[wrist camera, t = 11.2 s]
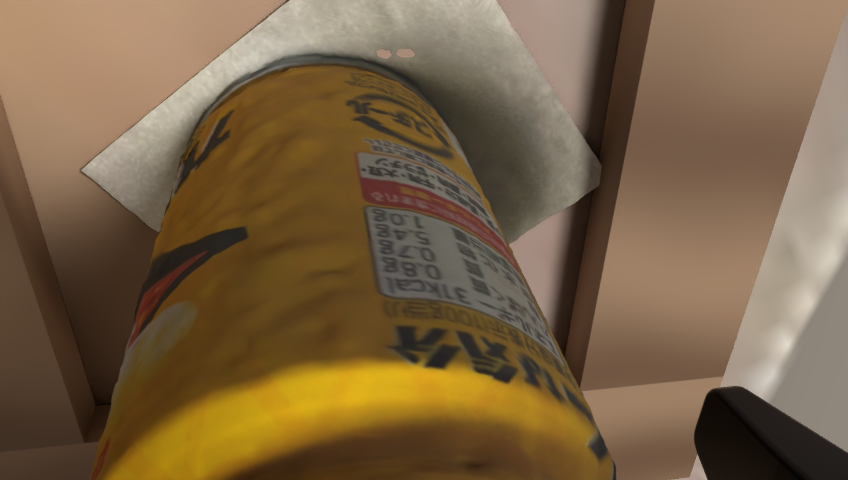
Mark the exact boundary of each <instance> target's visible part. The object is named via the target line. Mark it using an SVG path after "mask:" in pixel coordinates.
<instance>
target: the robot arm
mask: <svg viewBox="0 0 848 480" xmlns="http://www.w3.org/2000/svg"><path fill="white" fill-rule="evenodd" d="M694 444H695V448H696V451H697V454H698V456H699V459H700V462H701V464H702V467H703V469H704V472H705V474H706V477H707V480H848V453H847V452H846V451H844V450H843V449H841V448H839V447H838V446H836V445H835V444H833V443H831V442H830V441H828V440H827V439H825V438H823V437H822V436H820V435H819V434H817V433H815V432H814V431H812V430H811V429H809V428H808V427H806V426H804V425H803V424H801V423H800V422H798V421H796V420H795V419H793V418H792V417H790V416H788V415H787V414H785V413H783V412H782V411H780V410H779V409H777V408H776V407H774V406H772V405H771V404H769V403H768V402H766V401H764V400H763V399H761V398H760V397H758V396H756V395H755V394H753V393H752V392H750V391H749V390H747V389H745V388H743V387H739V386H730V387H721V388H714V389H711V390H710V391H709V392H708V393H707V394H706V396H705V399H704V402H703V405H702V409H701V412H700V415H699V418H698V421H697V424H696V427H695V431H694Z"/></svg>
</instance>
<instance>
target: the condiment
mask: <svg viewBox="0 0 848 480" xmlns="http://www.w3.org/2000/svg"><path fill="white" fill-rule="evenodd" d="M379 49H384V50H390V52H391V54H392V56H390V57H389V58H388V59H383V58H380V57H378V56H377V53H376V51H377V50H379ZM398 49H412V50H413V52H414V53H415V56H414V57H410V58H402V57H399V56H397V55H396V52H397V50H398ZM601 168H602V165H601V164H600V162H599V160H598V159H597V157H596V156H595V155H594V153H593V152H592V150H591V148H590V147H589V145H588V144H587V142H586V141H585V139H584V138H583V136H582V134H581V133H580V131H579V130H578V128H577V127H576V125H575V124H574V122H573V120H572V119H571V117H570V116H569V114H568V113H567V111H566V109H565V108H564V106H563V105H562V104H561V102H560V101H559V99H558V97H557V95H556V94H555V92H554V90H553V89H552V87H551V86H550V85H549V83H548V82H547V80H546V78H545V77H544V76H543V74H542V73H541V71H540V69H539V67H538V66H537V64H536V63H535V61H534V60H533V58H532V56H531V55H530V53H529V52H528V50H527V49H526V47H525V45H524V44H523V42H522V41H521V39H520V38H519V36H518V34H517V33H516V32H515V30H514V29H512V28H511V26H510V22H509V20H508V19H507V17H506V16H505V14H504V13H503V11H502V9H501V8H500V6H499V4H498V3H497V1H496V0H289V1H288V2H287V3H285V4H284V5H282V6H281V7H280V8H279V9H277V10H276V11H275V12H274V13H273V14H271V15H270V16H269V17H268V18H267V19H265V20H264V21H263V22H261V23H260V24H259V25H257V26H256V27H255V28H254V29H253V30H251V31H250V32H249V33H247V34H246V35H245V36H243V37H242V38H241V39H240V40H238V41H237V42H236V43H235V44H233V45H232V46H231V47H230V48H228V49H227V50H226V51H225V52H223V53H222V54H221V55H220V56H219V57H217V58H216V59H215V60H214V61H212V62H211V63H210V64H209V65H208V66H206V67H205V68H204V69H203V70H201V71H200V72H199V73H198V74H197V75H196V76H194V77H193V78H192V79H191V80H189V81H188V82H187V83H186V84H184V85H183V86H182V87H180V88H179V89H178V90H177V91H176V92H175V93H173V94H172V95H171V96H170V97H168V98H167V99H166V100H165V101H163V102H162V103H161V104H160V105H158V106H157V107H156V108H155V109H153V110H152V111H151V112H150V113H148V114H147V115H146V116H145V117H144V118H142V119H141V120H140V121H139V122H138V123H137V124H136V125H135V126H133V127H132V128H131V129H129V130H128V131H127V132H125V133H124V134H123V135H121V136H120V137H119V138H118V139H117V140H116V141H114V142H113V143H112V144H111V145H109V146H108V147H107V148H106V149H105V150H104V151H102V152H101V153H100V154H99V155H98V156H96V157H95V158H94V159H93V160H92V161H91V162H90V163H89V164H87V165H86V166H85V167H84V168H83V169H82V170H81V171H82V172H83V173H85V174H86V175H87V176H89V177H90V178H91V179H93V180H94V181H95V182H96V183H98V184H99V185H100V186H101V187H102V188H103V189H104V190H105V191H107V192H108V193H109V194H110V195H112V196H113V197H114V198H115V199H116V200H118V201H119V202H120V203H121V204H122V205H123V206H124V207H126V208H127V209H128V210H130V211H131V212H133V213H134V214H136V215H137V216H138V217H139V218H140V219H141V220H142V221H143V222H144V223H145V224H147V225H148V226H149V227H151V228H152V229H154V230H156V231H157V232H158V233H159V235H158V237H157V238H156V240H155V248H154V250H153V253H152V257H151V260H150V264H149V274H148V278H147V280H146V281H145V283H144V284H143V287H142V290H141V293H140V296H139V300H138V303H137V307H136V311H135V321H134V327H133V329H132V334H131V337H130V338H129V340H128V343H127V346H126V350H125V355H124V362H123V364H122V366H121V368H120V373H119V379H118V381H117V383H116V384H115V387H114V390H113V394H112V399H111V403H112V405H111V409H110V413H109V417H108V420H107V424H106V427H105V430H104V433H103V435H102V436H101V438H100V440H99V443H98V448H97V452H96V457H95V460H94V464H93V468H92V472H91V474H90V477H89V480H616V466H615V463H614V461H613V460H612V458H611V455H610V453H609V451H608V449H607V447H606V445H605V442H604V439H603V438H602V436H601V434H600V431H599V429H598V427H597V425H596V422H595V420H594V417H593V415H592V412H591V409H590V407H589V405H588V403H587V402H586V400H585V398H584V395H583V393H582V392H581V390H580V388H579V386H578V384H577V382H576V380H575V378H574V377H573V375H572V373H571V371H570V369H569V366H568V364H567V361H566V360H565V358H564V356H563V354H562V352H561V350H560V348H559V345H558V343H557V341H556V340H555V338H554V336H553V334H552V332H551V330H550V327H549V326H548V324H547V321H546V319H545V318H544V315H543V313H542V311H541V309H540V307H539V306H538V304H537V302H536V299H535V297H534V295H533V294H532V292H531V290H530V287H529V285H528V283H527V281H526V279H525V277H524V275H523V273H522V271H521V269H520V267H519V265H518V263H517V261H516V259H515V257H514V255H513V252H512V250H511V248H510V247H509V244H510V243H512V242H514V241H516V240H517V239H518V238H519V237H520V236H521V235H523V234H524V233H525V232H527V231H528V230H530V229H531V228H533V227H535V226H536V225H538V224H539V223H541V222H542V221H544V220H545V219H547V218H548V217H550V216H552V215H554V214H556V213H558V212H560V211H561V210H563V209H565V208H566V207H568V206H570V205H572V204H574V203H575V202H577V201H578V200H579V199H581V198H582V197H583V196H584V195H586V194H587V193H589V192H590V191H592V190H593V189H595V188H596V187H598V186H599V184H600V176H601Z"/></svg>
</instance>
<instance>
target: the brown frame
mask: <svg viewBox="0 0 848 480" xmlns="http://www.w3.org/2000/svg"><path fill="white" fill-rule="evenodd" d="M847 6H848V0H626V3H625V9H624V15H623V21H622V27H621V32H620V38H619V44H618V50H617V56H616V61H615V67H614V73H613V79H612V85H611V91H610V96H609V102H608V108H607V114H606V120H605V125H604V131H603V137H602V143H601V149H600V155H599V162H600V164H601V165H602V168H601V176H600V184H599V186H598V187H596V188H595V189H593V195H592V201H591V207H590V213H589V218H588V224H587V230H586V236H585V242H584V248H583V253H582V259H581V265H580V271H579V277H578V282H577V288H576V294H575V300H574V306H573V311H572V317H571V323H570V329H569V335H568V341H567V346H566V352H565V360H566V361H567V364H568V366H569V369H570V371H571V373H572V375H573V377H574V378H575V380H576V382H577V384H578V386H579V388H580V390H581V392H582V393H583V395H584V398H585V400H586V402H587V403H588V405H589V407H590V409H591V412H592V415H593V417H594V420H595V422H596V425H597V427H598V429H599V431H600V434H601V436H602V438H603V439H604V442H605V445H606V447H607V449H608V451H609V453H610V455H611V458H612V460H613V461H614V463H615V466H616V480H671V479H679V478H686V477H690V474H691V471H692V468H693V465H694V462H695V459H696V456H697V451H696V448H695V444H694V431H695V427H696V424H697V421H698V418H699V415H700V412H701V409H702V405H703V402H704V399H705V396H706V394H707V393H708V392H709V391H710V390H711V389H714V388H720V385H721V382H722V379H723V376H724V373H725V370H726V367H727V364H728V361H729V358H730V355H731V352H732V349H733V346H734V343H735V340H736V337H737V334H738V331H739V328H740V325H741V322H742V319H743V316H744V313H745V310H746V307H747V304H748V301H749V298H750V295H751V292H752V289H753V286H754V283H755V280H756V277H757V274H758V272H759V269H760V266H761V263H762V260H763V257H764V254H765V251H766V248H767V245H768V242H769V239H770V236H771V233H772V230H773V227H774V224H775V221H776V218H777V215H778V212H779V209H780V206H781V203H782V200H783V197H784V194H785V191H786V188H787V185H788V182H789V179H790V176H791V173H792V170H793V167H794V164H795V161H796V158H797V155H798V152H799V149H800V146H801V143H802V140H803V137H804V135H805V132H806V129H807V126H808V123H809V120H810V117H811V114H812V111H813V108H814V105H815V102H816V99H817V96H818V93H819V90H820V87H821V84H822V81H823V78H824V75H825V72H826V69H827V66H828V63H829V60H830V57H831V54H832V51H833V48H834V45H835V42H836V39H837V36H838V33H839V30H840V27H841V24H842V21H843V18H844V15H845V12H846V9H847ZM111 405H112V404H108V405H98V406H96V405H95V402H94V398H93V395H92V392H91V389H90V385H89V382H88V379H87V376H86V372H85V369H84V366H83V363H82V359H81V356H80V353H79V350H78V346H77V343H76V340H75V337H74V333H73V330H72V327H71V324H70V320H69V317H68V314H67V311H66V308H65V304H64V301H63V298H62V295H61V291H60V288H59V285H58V282H57V278H56V275H55V272H54V269H53V265H52V262H51V259H50V256H49V252H48V249H47V246H46V243H45V239H44V236H43V233H42V230H41V226H40V223H39V220H38V217H37V213H36V210H35V207H34V204H33V200H32V197H31V194H30V191H29V187H28V184H27V181H26V178H25V174H24V171H23V168H22V165H21V161H20V158H19V155H18V152H17V148H16V145H15V142H14V139H13V135H12V132H11V129H10V126H9V123H8V119H7V116H6V113H5V110H4V106H3V103H2V100H1V97H0V480H89V477H90V474H91V472H92V468H93V464H94V460H95V457H96V452H97V448H98V443H99V440H100V438H101V436H102V435H103V433H104V430H105V427H106V424H107V420H108V417H109V413H110V409H111Z"/></svg>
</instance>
